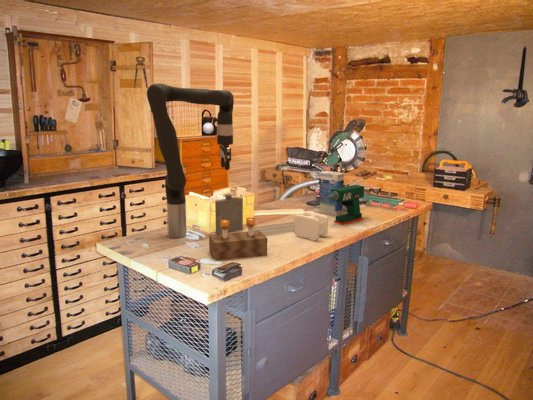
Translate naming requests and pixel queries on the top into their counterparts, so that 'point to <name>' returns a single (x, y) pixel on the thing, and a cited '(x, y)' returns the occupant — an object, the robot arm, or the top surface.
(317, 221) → the beige rounded block
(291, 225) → the corner bead
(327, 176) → the string lights box
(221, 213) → the hip flask
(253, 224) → the far plunger
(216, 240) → the block
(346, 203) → the power tool
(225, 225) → the near plunger
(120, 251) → the top surface
